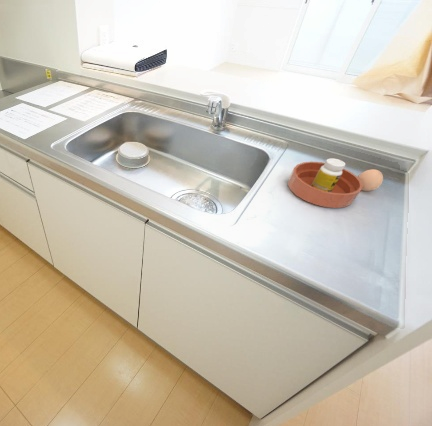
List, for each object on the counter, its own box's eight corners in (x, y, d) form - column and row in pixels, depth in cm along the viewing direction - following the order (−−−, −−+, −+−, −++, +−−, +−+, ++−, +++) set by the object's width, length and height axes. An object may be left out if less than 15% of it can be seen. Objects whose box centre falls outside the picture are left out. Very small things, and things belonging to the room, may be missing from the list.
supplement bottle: (329, 197, 72) (346, 169, 67) (308, 190, 74) (323, 163, 69) (331, 188, 75) (348, 160, 69) (311, 182, 77) (326, 155, 72)
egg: (373, 186, 76) (387, 168, 72) (376, 196, 72) (390, 177, 69) (351, 181, 78) (363, 163, 74) (352, 191, 74) (365, 172, 70)
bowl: (360, 190, 75) (369, 176, 72) (342, 217, 67) (352, 203, 64) (299, 169, 83) (306, 156, 80) (277, 191, 75) (284, 177, 72)
